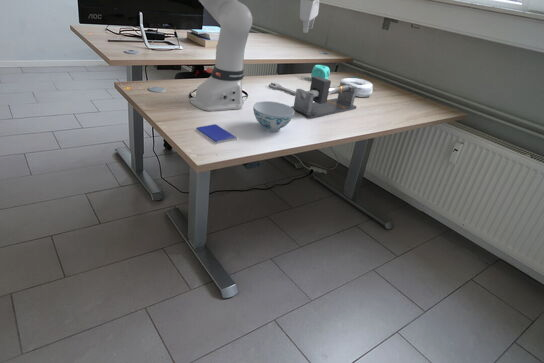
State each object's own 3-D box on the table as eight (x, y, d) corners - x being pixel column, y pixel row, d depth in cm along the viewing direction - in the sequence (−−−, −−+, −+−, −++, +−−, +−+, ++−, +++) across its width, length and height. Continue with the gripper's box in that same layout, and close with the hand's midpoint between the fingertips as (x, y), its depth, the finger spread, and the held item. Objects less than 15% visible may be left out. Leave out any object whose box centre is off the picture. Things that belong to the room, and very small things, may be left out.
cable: (370, 91, 206) (373, 80, 203) (371, 100, 191) (375, 89, 188) (338, 86, 207) (340, 75, 204) (337, 94, 192) (340, 82, 189)
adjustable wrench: (312, 101, 178) (313, 97, 177) (304, 102, 174) (304, 99, 173) (274, 85, 192) (274, 82, 191) (265, 87, 187) (265, 83, 186)
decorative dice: (328, 81, 212) (330, 67, 208) (323, 84, 205) (326, 69, 201) (314, 78, 214) (317, 64, 210) (310, 81, 208) (312, 66, 204)
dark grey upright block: (320, 104, 159) (324, 81, 154) (308, 98, 163) (312, 76, 158) (326, 103, 161) (331, 80, 156) (314, 97, 165) (318, 76, 161)
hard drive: (237, 136, 127) (216, 123, 134) (216, 141, 122) (196, 127, 129) (236, 141, 127) (216, 127, 135) (216, 145, 122) (196, 131, 130)
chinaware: (243, 122, 141) (245, 102, 137) (275, 118, 149) (278, 100, 145) (265, 138, 131) (268, 117, 127) (299, 133, 139) (302, 113, 135)
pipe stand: (310, 119, 154) (314, 96, 149) (289, 109, 161) (293, 87, 156) (355, 108, 175) (361, 88, 170) (335, 100, 182) (340, 80, 177)
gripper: (309, -11, 154) (305, 26, 161) (298, -7, 137) (294, 33, 144) (324, -9, 152) (319, 27, 160) (315, -5, 135) (310, 35, 143)
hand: (307, 30), depth 152 cm, fingers open, 8 cm apart
